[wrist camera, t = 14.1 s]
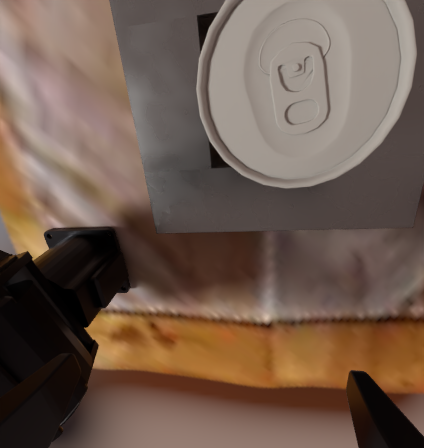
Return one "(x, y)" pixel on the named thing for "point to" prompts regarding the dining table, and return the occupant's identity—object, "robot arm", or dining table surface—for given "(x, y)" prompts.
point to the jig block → (220, 170)
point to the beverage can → (304, 85)
